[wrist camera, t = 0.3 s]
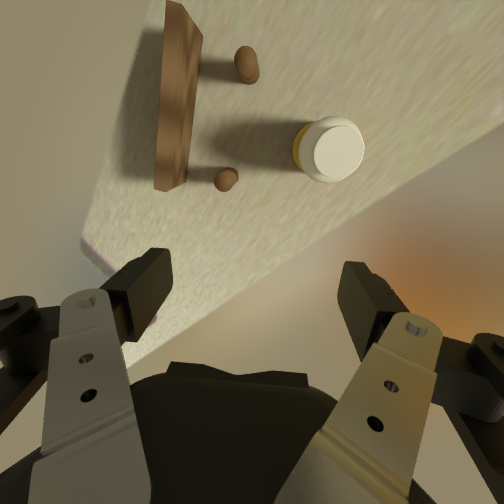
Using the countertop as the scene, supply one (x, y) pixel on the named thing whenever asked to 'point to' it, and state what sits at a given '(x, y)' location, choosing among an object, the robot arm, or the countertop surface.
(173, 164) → the walnut rail
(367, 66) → the countertop surface
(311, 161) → the supplement bottle
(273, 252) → the countertop surface
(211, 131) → the countertop surface
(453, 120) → the countertop surface
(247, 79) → the dowel gate
